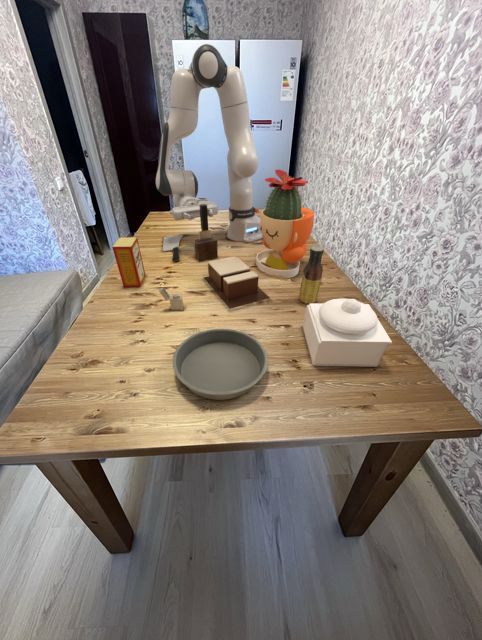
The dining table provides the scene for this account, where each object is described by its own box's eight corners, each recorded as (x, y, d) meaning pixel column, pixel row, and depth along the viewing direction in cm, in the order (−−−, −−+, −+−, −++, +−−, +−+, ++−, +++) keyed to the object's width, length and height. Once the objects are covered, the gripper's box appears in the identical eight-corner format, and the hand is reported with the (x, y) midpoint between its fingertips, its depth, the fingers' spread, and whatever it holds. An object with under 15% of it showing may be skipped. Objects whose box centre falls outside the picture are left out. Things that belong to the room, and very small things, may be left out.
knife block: (213, 253, 133) (212, 236, 127) (217, 258, 129) (217, 240, 124) (195, 257, 130) (193, 239, 124) (199, 261, 126) (197, 243, 121)
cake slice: (223, 294, 103) (223, 277, 99) (252, 287, 107) (253, 270, 103) (228, 299, 101) (228, 282, 96) (257, 292, 104) (258, 275, 100)
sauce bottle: (304, 295, 104) (315, 241, 91) (319, 302, 101) (332, 247, 87) (294, 302, 101) (303, 247, 87) (309, 309, 97) (321, 253, 84)
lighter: (183, 307, 99) (181, 286, 94) (183, 309, 98) (180, 289, 92) (163, 307, 99) (159, 286, 94) (162, 310, 98) (158, 289, 92)
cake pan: (191, 420, 64) (189, 408, 61) (164, 353, 81) (162, 341, 78) (284, 386, 71) (286, 374, 68) (242, 331, 88) (242, 320, 85)
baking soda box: (129, 275, 117) (119, 236, 106) (145, 275, 117) (136, 236, 106) (123, 287, 110) (112, 246, 99) (140, 286, 110) (130, 245, 99)
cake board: (203, 279, 114) (203, 277, 113) (238, 271, 119) (238, 269, 118) (229, 311, 97) (229, 308, 96) (270, 300, 102) (270, 297, 101)
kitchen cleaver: (163, 235, 148) (182, 232, 148) (164, 238, 149) (183, 235, 149) (159, 261, 125) (181, 257, 125) (160, 264, 126) (182, 261, 126)
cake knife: (200, 257, 130) (196, 204, 115) (210, 255, 131) (207, 203, 116) (202, 259, 128) (198, 206, 113) (212, 257, 129) (210, 204, 115)
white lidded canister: (302, 326, 90) (311, 281, 79) (359, 327, 90) (376, 282, 79) (312, 365, 77) (325, 317, 66) (379, 367, 76) (403, 318, 66)
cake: (208, 277, 113) (207, 261, 109) (235, 271, 117) (235, 256, 112) (220, 291, 105) (220, 274, 101) (249, 284, 109) (250, 268, 104)
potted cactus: (272, 282, 112) (283, 180, 89) (247, 260, 127) (250, 168, 104) (317, 271, 118) (338, 174, 95) (288, 252, 134) (299, 164, 110)
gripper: (167, 203, 124) (176, 211, 115) (210, 197, 131) (222, 205, 121) (169, 218, 129) (178, 227, 119) (211, 212, 135) (222, 220, 126)
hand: (201, 216), depth 120 cm, fingers open, 8 cm apart
